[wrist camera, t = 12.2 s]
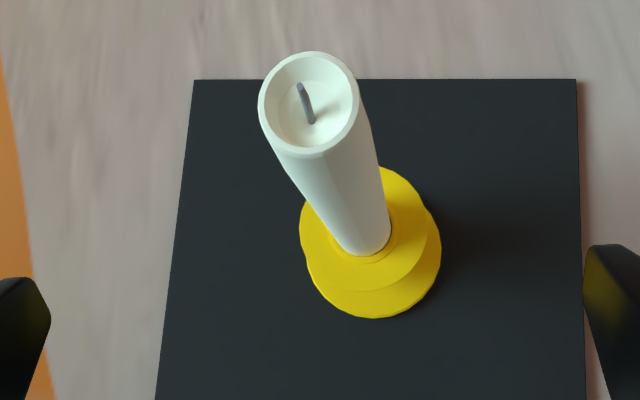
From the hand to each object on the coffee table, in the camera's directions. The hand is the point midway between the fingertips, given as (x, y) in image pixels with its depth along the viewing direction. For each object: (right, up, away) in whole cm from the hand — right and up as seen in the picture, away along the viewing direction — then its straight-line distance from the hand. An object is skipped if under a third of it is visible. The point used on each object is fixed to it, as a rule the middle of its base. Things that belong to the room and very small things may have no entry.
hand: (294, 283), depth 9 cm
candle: (+3, -1, +13) cm, 13 cm away
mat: (+2, 0, +14) cm, 14 cm away
